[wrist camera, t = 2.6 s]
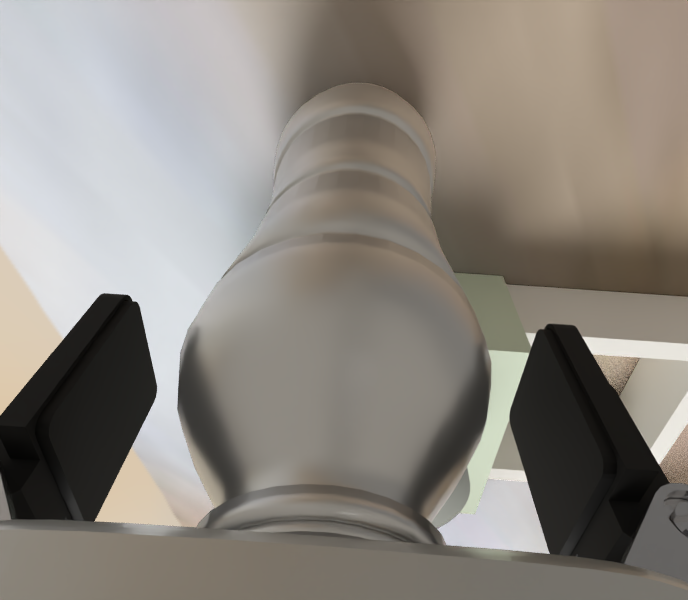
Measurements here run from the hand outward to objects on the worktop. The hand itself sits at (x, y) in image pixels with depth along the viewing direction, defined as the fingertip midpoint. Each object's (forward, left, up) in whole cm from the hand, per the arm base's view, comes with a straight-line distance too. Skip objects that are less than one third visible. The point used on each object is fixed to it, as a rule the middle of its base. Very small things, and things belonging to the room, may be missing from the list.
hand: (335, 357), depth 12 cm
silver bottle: (-1, 0, -13) cm, 13 cm away
